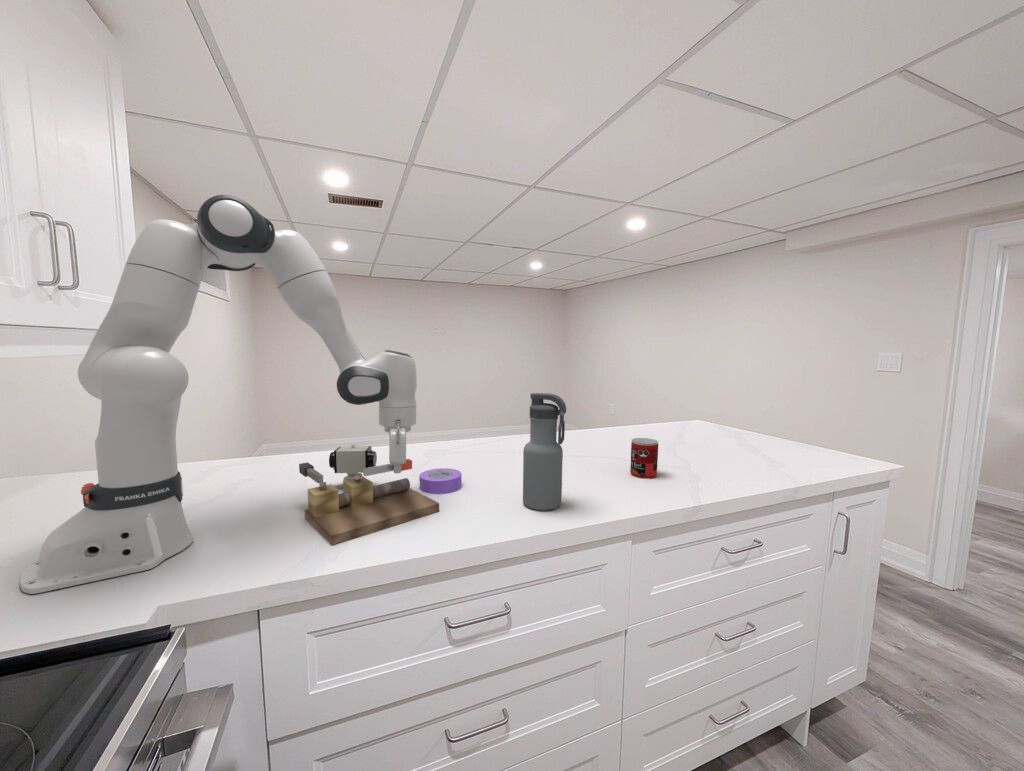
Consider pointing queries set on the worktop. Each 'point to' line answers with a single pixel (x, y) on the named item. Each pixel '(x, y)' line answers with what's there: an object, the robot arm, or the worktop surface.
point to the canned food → (644, 457)
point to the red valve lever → (383, 469)
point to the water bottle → (544, 454)
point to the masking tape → (440, 481)
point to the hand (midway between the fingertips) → (397, 472)
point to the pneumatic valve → (352, 460)
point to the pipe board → (361, 506)
